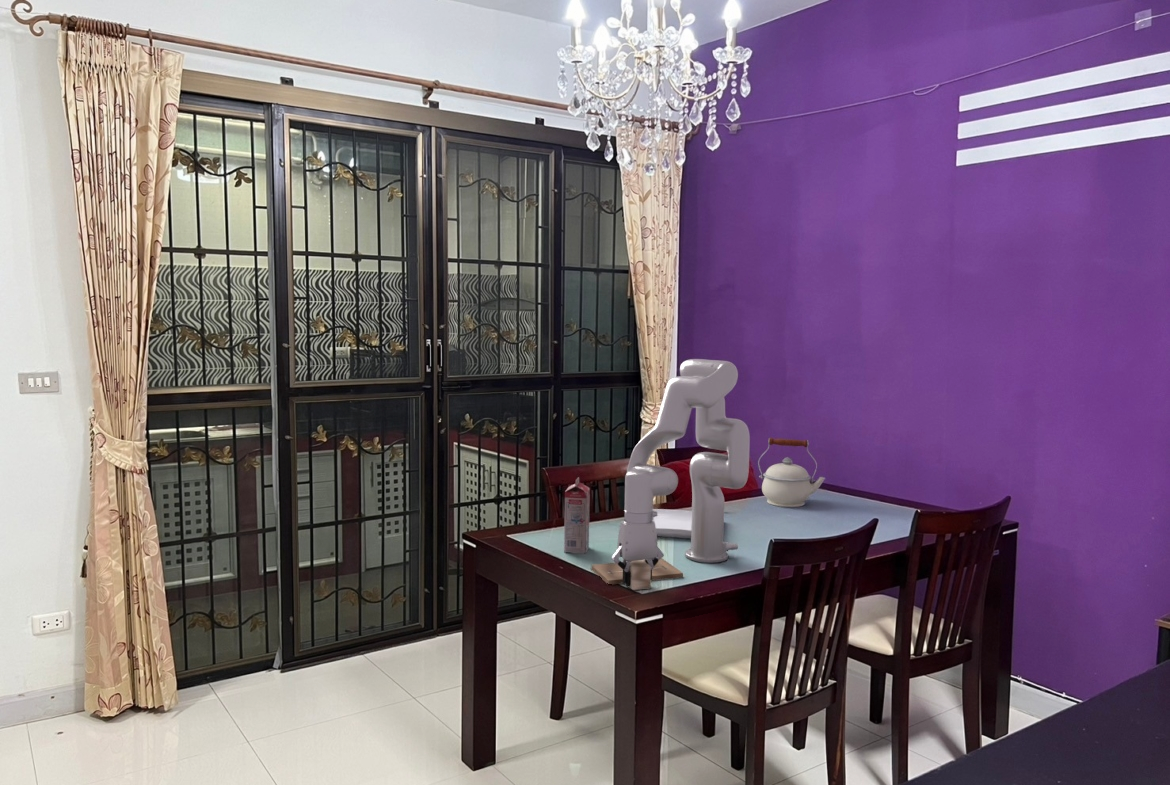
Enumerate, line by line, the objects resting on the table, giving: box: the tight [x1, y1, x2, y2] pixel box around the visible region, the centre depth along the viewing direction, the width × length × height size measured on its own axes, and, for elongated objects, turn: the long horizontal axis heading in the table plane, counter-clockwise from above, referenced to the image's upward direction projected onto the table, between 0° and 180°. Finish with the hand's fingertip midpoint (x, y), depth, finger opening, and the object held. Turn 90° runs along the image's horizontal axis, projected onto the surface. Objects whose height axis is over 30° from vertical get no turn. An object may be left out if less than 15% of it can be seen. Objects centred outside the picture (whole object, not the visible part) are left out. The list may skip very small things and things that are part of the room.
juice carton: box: [563, 476, 591, 554], centre depth 254 cm, size 7×7×22 cm
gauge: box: [628, 560, 651, 591], centre depth 225 cm, size 5×12×6 cm, turn 19°
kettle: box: [757, 437, 826, 508], centre depth 319 cm, size 25×18×25 cm
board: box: [590, 557, 684, 585], centre depth 233 cm, size 22×14×1 cm, turn 109°
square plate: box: [653, 508, 692, 539], centre depth 280 cm, size 27×27×4 cm
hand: (637, 583), depth 222 cm, fingers closed on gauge, 5 cm apart
